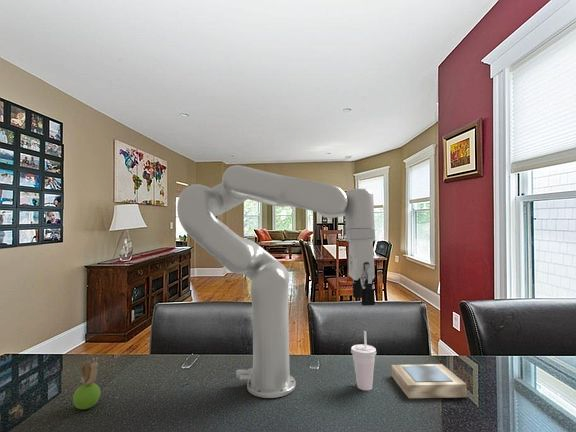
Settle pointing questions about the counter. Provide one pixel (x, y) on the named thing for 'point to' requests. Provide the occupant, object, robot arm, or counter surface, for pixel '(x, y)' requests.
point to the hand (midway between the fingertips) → (363, 301)
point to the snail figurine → (87, 387)
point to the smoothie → (364, 364)
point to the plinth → (428, 381)
